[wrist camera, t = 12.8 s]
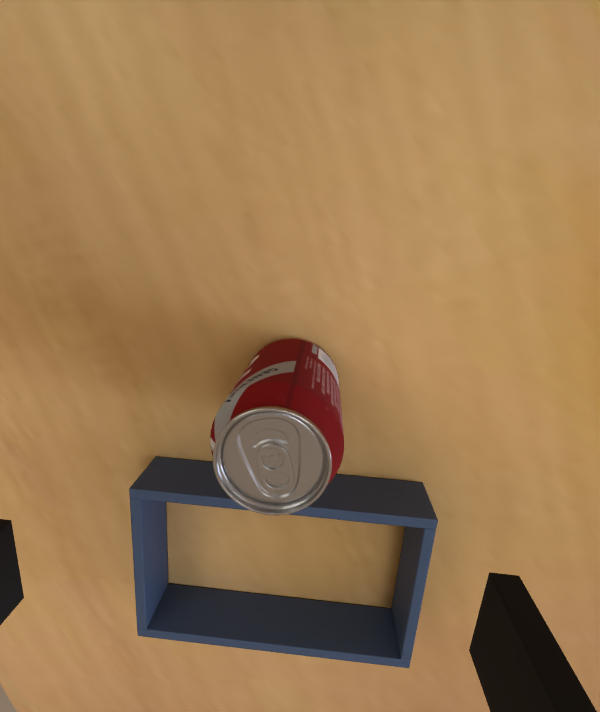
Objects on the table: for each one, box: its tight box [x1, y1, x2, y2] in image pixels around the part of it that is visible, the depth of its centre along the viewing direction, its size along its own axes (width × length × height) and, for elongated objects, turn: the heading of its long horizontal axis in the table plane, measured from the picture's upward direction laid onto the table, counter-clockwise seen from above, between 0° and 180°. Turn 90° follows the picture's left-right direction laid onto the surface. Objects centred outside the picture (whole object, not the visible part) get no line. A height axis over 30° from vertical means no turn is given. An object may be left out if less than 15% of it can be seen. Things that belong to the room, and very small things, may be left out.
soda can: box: [210, 338, 344, 515], centre depth 24 cm, size 7×7×12 cm
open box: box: [129, 456, 438, 668], centre depth 31 cm, size 14×22×4 cm, turn 86°
